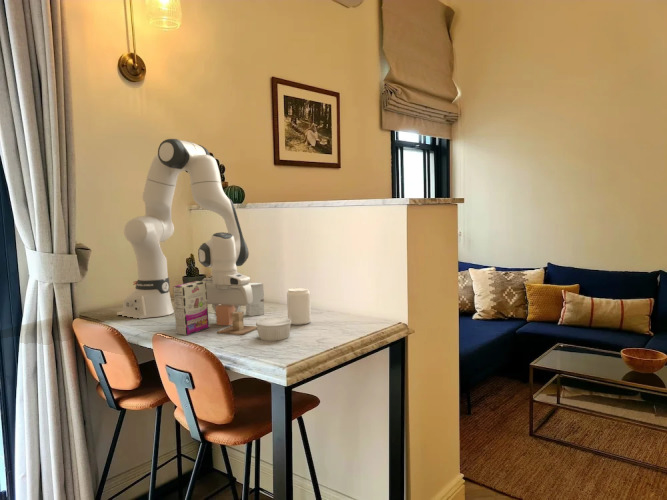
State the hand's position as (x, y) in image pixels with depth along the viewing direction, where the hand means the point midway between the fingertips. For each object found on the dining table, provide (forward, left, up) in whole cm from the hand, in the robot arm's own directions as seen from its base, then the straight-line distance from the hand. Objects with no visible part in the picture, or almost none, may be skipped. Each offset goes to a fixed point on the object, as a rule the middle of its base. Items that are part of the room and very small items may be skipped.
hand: (227, 316), depth 183 cm
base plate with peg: (+10, -8, -2) cm, 13 cm away
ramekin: (+26, -12, -3) cm, 29 cm away
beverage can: (+25, +8, -3) cm, 26 cm away
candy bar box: (-5, -13, -3) cm, 14 cm away
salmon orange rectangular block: (0, 0, -2) cm, 3 cm away
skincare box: (+2, +16, -3) cm, 16 cm away
